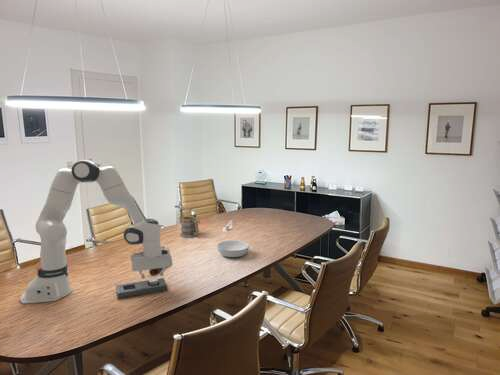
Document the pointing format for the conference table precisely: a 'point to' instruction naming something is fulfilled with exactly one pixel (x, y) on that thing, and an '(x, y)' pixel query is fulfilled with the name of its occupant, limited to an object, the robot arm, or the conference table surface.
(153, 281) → the wood grain block
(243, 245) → the serving bowl
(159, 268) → the bolt
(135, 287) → the grey slotted board
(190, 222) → the tankard
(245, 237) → the conference table surface
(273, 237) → the conference table surface
